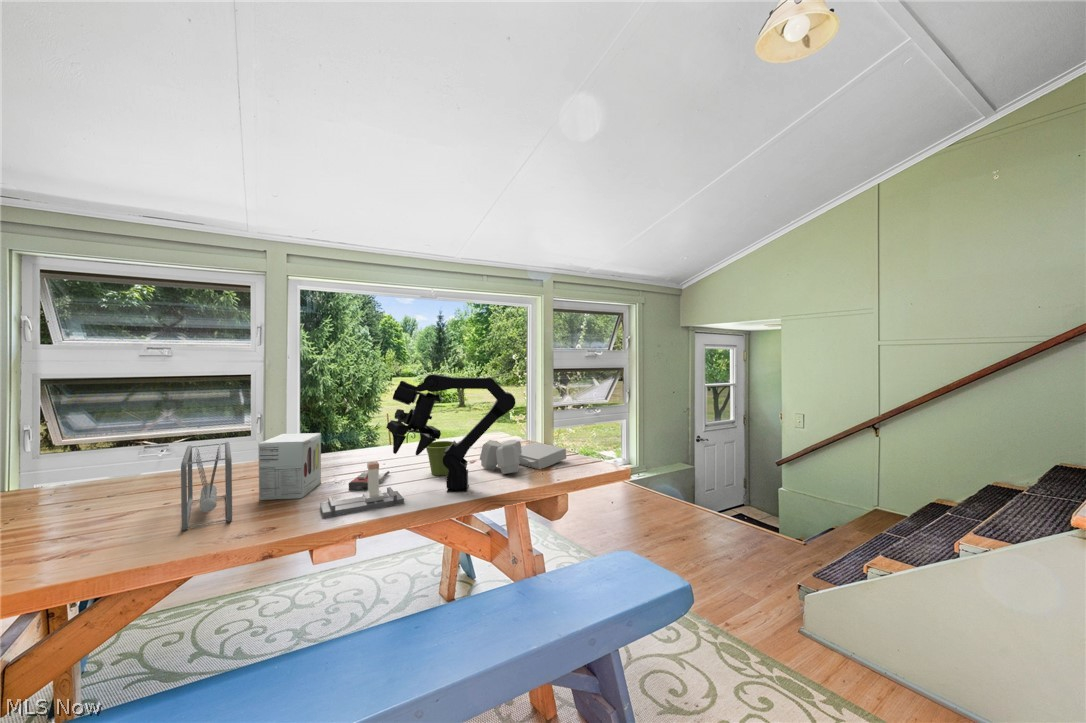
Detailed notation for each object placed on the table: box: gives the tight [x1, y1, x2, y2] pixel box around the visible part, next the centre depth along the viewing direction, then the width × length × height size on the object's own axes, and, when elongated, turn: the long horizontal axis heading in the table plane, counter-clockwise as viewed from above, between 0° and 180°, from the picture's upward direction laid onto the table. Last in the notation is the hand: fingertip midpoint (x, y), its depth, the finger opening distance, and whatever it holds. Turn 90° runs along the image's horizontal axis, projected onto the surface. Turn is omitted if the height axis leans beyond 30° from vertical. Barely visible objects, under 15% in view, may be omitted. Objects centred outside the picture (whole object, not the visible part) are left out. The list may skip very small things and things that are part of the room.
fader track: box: [319, 486, 405, 519], centre depth 128 cm, size 22×9×3 cm, turn 122°
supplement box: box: [258, 432, 322, 501], centre depth 142 cm, size 17×13×18 cm
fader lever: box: [362, 461, 384, 503], centre depth 130 cm, size 5×6×11 cm
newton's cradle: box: [180, 441, 233, 531], centre depth 124 cm, size 30×10×18 cm, turn 37°
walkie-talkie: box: [348, 470, 390, 492], centre depth 152 cm, size 9×4×20 cm
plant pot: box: [425, 440, 453, 476], centre depth 164 cm, size 12×12×11 cm
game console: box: [479, 439, 567, 475], centre depth 175 cm, size 20×32×13 cm, turn 135°
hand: (405, 454), depth 142 cm, fingers open, 9 cm apart
